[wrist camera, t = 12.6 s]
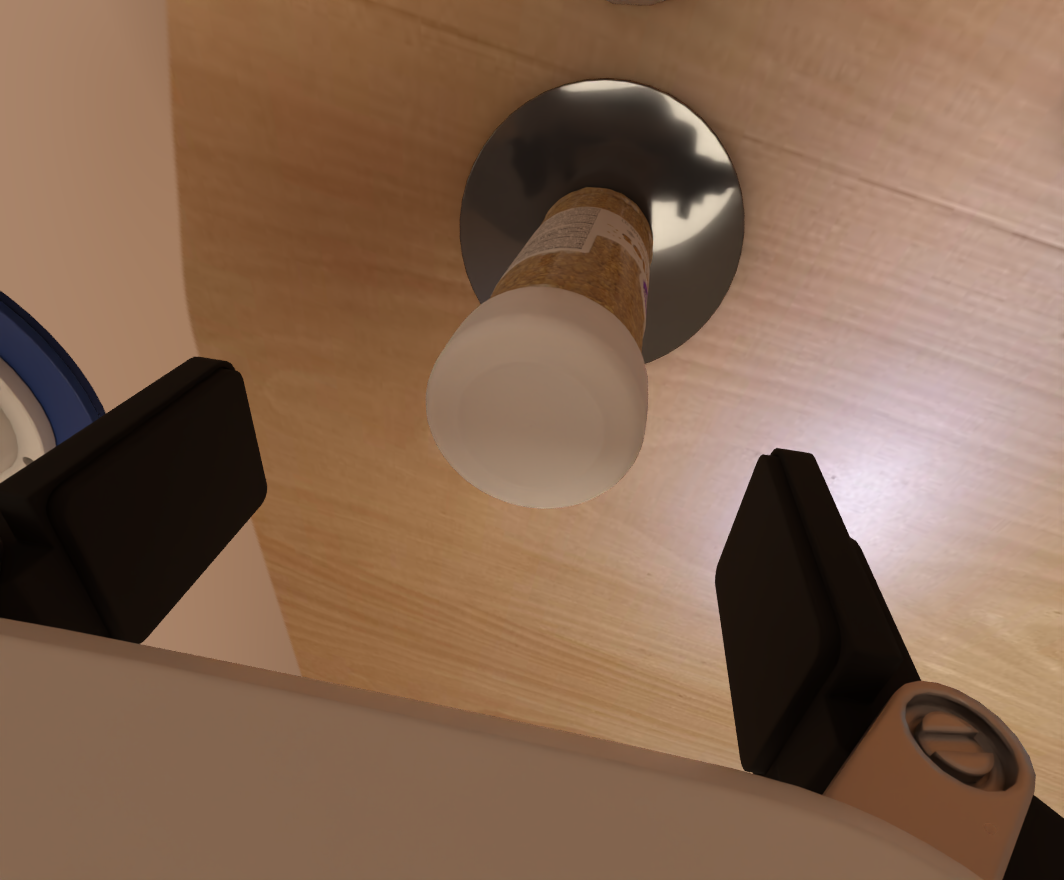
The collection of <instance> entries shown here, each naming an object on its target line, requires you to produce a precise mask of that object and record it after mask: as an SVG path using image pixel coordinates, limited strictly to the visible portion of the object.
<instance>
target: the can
mask: <svg viewBox="0 0 1064 880" xmlns="http://www.w3.org/2000/svg"><path fill="white" fill-rule="evenodd" d="M607 1H609V2H611V3H614V4H635V5H653V4H656V3H659V2H662V1H665V0H607Z"/></svg>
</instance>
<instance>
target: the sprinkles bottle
mask: <svg viewBox="0 0 1064 880" xmlns="http://www.w3.org/2000/svg"><path fill="white" fill-rule="evenodd" d="M652 256H653V238H652V233H651V230H650V227H649V223H648V221H647V219H646V218H645V216H644V214H643V213H642V211H641V210H640V208H639V207H638V206H637V204H636V203H634V202H633V201H632V200H630V199H629V198H628V197H626V196H625V195H623V194H621V193H618V192H615V191H613V190H611V189H606V188H594V187H586V188H583V189H580V190H578V191H574V192H571V193H569V194H567V195H566V196H564V197H562V198H561V199H559V200H558V201H557V202H556V203H555V204H554V205H553V206H552V207H551V208H550V210H549V211H548V212H547V214H546V216H545V219H544V220H543V222H542V224H541V226H540V227H539V228H538V229H537V230H536V231H535V233H534V234H533V235H532V237H531V238H530V239H529V241H528V242H527V243H526V245H525V246H524V248H523V249H522V250H521V252H520V253H519V254H518V256H517V257H516V258H515V260H514V261H513V263H512V264H511V265H510V267H509V268H508V269H507V271H506V272H505V273H504V275H503V276H502V278H501V279H500V281H499V282H498V284H497V285H496V287H495V289H494V291H493V293H492V295H491V297H490V299H489V300H487V301H485V302H483V303H482V304H481V305H480V306H479V307H477V308H476V309H475V310H474V311H473V312H472V313H471V314H470V315H469V316H468V317H467V318H466V319H465V320H464V321H463V322H462V324H461V325H460V326H459V328H458V329H457V330H456V332H455V333H454V334H453V336H452V337H451V339H450V340H449V341H448V343H447V344H446V346H445V348H444V349H443V351H442V352H441V354H440V355H439V357H438V358H437V360H436V362H435V364H434V366H433V369H432V371H431V374H430V377H429V380H428V384H427V391H426V412H427V419H428V423H429V427H430V430H431V433H432V435H433V438H434V440H435V442H436V445H437V446H438V448H439V450H440V451H441V453H442V455H443V456H444V457H445V459H446V460H447V461H448V462H449V464H450V465H451V466H452V467H453V468H454V469H455V470H456V471H457V472H458V473H459V474H460V475H461V476H462V477H463V478H464V479H465V480H466V481H468V482H469V483H470V484H472V485H473V486H475V487H476V488H478V489H479V490H481V491H482V492H484V493H486V494H488V495H490V496H492V497H494V498H497V499H499V500H502V501H505V502H508V503H511V504H515V505H518V506H523V507H530V508H539V509H551V508H562V507H569V506H573V505H578V504H581V503H584V502H587V501H589V500H591V499H593V498H596V497H598V496H600V495H601V494H603V493H605V492H606V491H608V490H610V489H611V488H612V487H613V486H614V485H615V484H617V483H618V482H619V481H620V480H621V479H622V478H623V477H624V475H625V474H626V473H627V472H628V470H629V469H630V468H631V466H632V465H633V463H634V462H635V460H636V458H637V456H638V454H639V452H640V449H641V447H642V443H643V439H644V434H645V428H646V419H647V410H648V376H647V371H646V367H645V363H644V360H643V356H642V340H643V336H644V331H645V326H646V310H647V296H648V288H649V273H650V268H649V267H650V264H651V261H652Z"/></svg>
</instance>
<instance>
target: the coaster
mask: <svg viewBox="0 0 1064 880" xmlns="http://www.w3.org/2000/svg"><path fill="white" fill-rule="evenodd" d="M586 187H594V188H606V189H611V190H613V191H615V192H618V193H621V194H623V195H625V196H626V197H628V198H629V199H630V200H632V201H633V202H634V203H636V204H637V206H638V207H639V208H640V210H641V211H642V213H643V214H644V216H645V218H646V219H647V221H648V223H649V227H650V230H651V233H652V238H653V256H652V261H651V264H650V267H649V268H650V273H649V288H648V296H647V310H646V326H645V331H644V336H643V340H642V356H643V360H644V363H648V362H651V361H653V360H656V359H658V358H660V357H662V356H664V355H666V354H668V353H670V352H671V351H673V350H674V349H676V348H678V347H679V346H681V345H682V344H683V343H685V342H686V341H687V340H688V339H690V338H691V337H692V336H693V335H695V334H696V333H697V332H698V331H699V330H700V329H701V328H702V327H703V326H704V324H705V323H706V322H707V321H708V320H709V319H710V318H711V316H712V315H713V314H714V312H715V311H716V310H717V308H718V307H719V306H720V304H721V302H722V300H723V299H724V297H725V295H726V293H727V292H728V290H729V288H730V285H731V283H732V281H733V278H734V276H735V274H736V271H737V267H738V263H739V260H740V256H741V252H742V245H743V238H744V207H743V199H742V192H741V188H740V185H739V181H738V177H737V174H736V171H735V169H734V167H733V164H732V162H731V160H730V157H729V155H728V153H727V151H726V150H725V148H724V147H723V145H722V143H721V142H720V140H719V138H718V137H717V135H716V134H715V133H714V132H713V130H712V129H711V128H710V127H709V126H708V125H707V123H706V122H705V121H704V120H703V119H702V118H701V117H700V116H699V115H698V114H697V113H695V112H694V111H693V110H692V109H691V108H690V107H689V106H687V105H686V104H685V103H683V102H681V101H680V100H678V99H677V98H675V97H673V96H672V95H670V94H669V93H666V92H664V91H662V90H659V89H657V88H655V87H652V86H650V85H647V84H643V83H639V82H635V81H631V80H624V79H613V78H600V79H586V80H581V81H577V82H572V83H568V84H564V85H561V86H559V87H556V88H554V89H551V90H548V91H546V92H544V93H542V94H540V95H538V96H537V97H535V98H533V99H531V100H529V101H528V102H526V103H525V104H524V105H522V106H521V107H520V108H518V109H517V110H516V111H514V112H513V113H512V114H510V115H509V116H508V117H507V119H506V120H505V121H504V122H503V123H502V124H501V125H500V126H499V127H498V128H497V129H496V130H495V131H494V133H493V134H492V135H491V137H490V138H489V139H488V141H487V142H486V143H485V145H484V146H483V148H482V150H481V152H480V153H479V155H478V157H477V159H476V161H475V162H474V165H473V167H472V170H471V172H470V175H469V177H468V180H467V183H466V187H465V191H464V195H463V199H462V206H461V214H460V242H461V250H462V257H463V261H464V265H465V269H466V273H467V275H468V278H469V280H470V283H471V286H472V288H473V290H474V292H475V294H476V296H477V298H478V300H479V302H480V304H482V303H483V302H485V301H487V300H489V299H490V297H491V295H492V293H493V291H494V289H495V287H496V285H497V284H498V282H499V281H500V279H501V278H502V276H503V275H504V273H505V272H506V271H507V269H508V268H509V267H510V265H511V264H512V263H513V261H514V260H515V258H516V257H517V256H518V254H519V253H520V252H521V250H522V249H523V248H524V246H525V245H526V243H527V242H528V241H529V239H530V238H531V237H532V235H533V234H534V233H535V231H536V230H537V229H538V228H539V227H540V226H541V224H542V222H543V220H544V219H545V216H546V214H547V212H548V211H549V210H550V208H551V207H552V206H553V205H554V204H555V203H556V202H557V201H558V200H559V199H561V198H562V197H564V196H566V195H567V194H569V193H571V192H574V191H578V190H580V189H583V188H586Z"/></svg>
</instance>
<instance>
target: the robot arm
mask: <svg viewBox="0 0 1064 880" xmlns="http://www.w3.org/2000/svg"><path fill="white" fill-rule="evenodd" d="M266 493H267V483H266V478H265V474H264V470H263V465H262V461H261V456H260V452H259V447H258V443H257V439H256V434H255V430H254V425H253V421H252V416H251V412H250V407H249V403H248V399H247V394H246V390H245V385H244V381H243V378H242V375H241V374H240V373H239V372H238V371H235V368H234V367H233V365H232V364H231V363H229V362H227V361H222V360H216V359H210V358H203V357H193V358H191V359H189V360H187V361H186V362H184V363H183V364H181V365H180V366H178V367H177V368H175V369H173V370H172V371H170V372H169V373H167V374H166V375H164V376H163V377H161V378H160V379H158V380H157V381H155V382H154V383H152V384H151V385H149V386H148V387H146V388H145V389H143V390H142V391H140V392H138V393H137V394H135V395H134V396H132V397H131V398H129V399H128V400H126V401H125V402H123V403H122V404H120V405H119V406H117V407H116V408H114V409H112V410H111V411H110V412H108V413H106V414H105V415H103V416H102V417H100V418H99V419H97V420H96V421H94V422H93V423H91V424H90V425H88V426H86V427H85V428H83V429H82V430H80V431H79V432H77V433H76V434H74V435H73V436H71V437H70V438H68V439H67V440H65V441H64V442H62V443H61V444H59V445H57V446H56V443H55V436H54V433H53V430H52V427H51V424H50V421H49V419H48V417H47V416H46V414H45V412H44V410H43V408H42V406H41V404H40V403H39V401H38V400H37V398H36V397H35V396H34V394H33V393H32V391H31V390H30V388H29V387H28V386H27V385H26V383H25V382H24V381H23V380H22V379H21V378H20V376H19V375H18V374H17V373H16V372H15V371H14V370H13V368H11V367H10V366H9V365H8V364H7V363H6V362H5V361H4V360H3V359H2V358H1V357H0V880H1064V818H1063V817H1061V816H1060V815H1059V814H1058V813H1056V812H1055V811H1054V810H1052V809H1051V808H1050V807H1049V806H1047V805H1046V804H1045V803H1043V802H1042V801H1041V800H1040V799H1038V798H1037V797H1036V796H1034V795H1033V794H1034V791H1035V777H1036V775H1035V772H1034V769H1033V766H1032V763H1031V760H1030V757H1029V755H1028V753H1027V752H1026V750H1025V749H1024V747H1023V746H1022V744H1021V742H1020V741H1019V739H1018V738H1017V736H1016V735H1015V734H1014V733H1013V732H1012V731H1011V730H1010V729H1009V728H1008V727H1007V725H1006V724H1005V723H1004V722H1003V721H1002V720H1001V719H1000V718H999V717H998V716H996V715H995V714H994V713H993V712H991V711H990V710H989V709H987V708H986V707H985V706H984V705H982V704H981V703H980V702H978V701H977V700H975V699H973V698H971V697H969V696H968V695H966V694H964V693H962V692H961V691H959V690H956V689H954V688H951V687H948V686H945V685H942V684H939V683H934V682H926V681H921V679H920V677H919V675H918V673H917V670H916V668H915V666H914V664H913V662H912V659H911V657H910V655H909V653H908V651H907V648H906V646H905V644H904V642H903V640H902V637H901V635H900V633H899V631H898V629H897V626H896V624H895V622H894V620H893V618H892V615H891V613H890V611H889V609H888V607H887V604H886V602H885V600H884V598H883V596H882V593H881V591H880V589H879V587H878V585H877V582H876V580H875V578H874V576H873V574H872V571H871V569H870V567H869V565H868V563H867V560H866V558H865V556H864V554H863V552H862V549H861V548H860V546H859V545H858V543H857V542H856V541H855V540H853V539H852V538H850V536H849V534H848V532H847V529H846V527H845V525H844V523H843V520H842V518H841V516H840V514H839V511H838V509H837V507H836V504H835V502H834V500H833V498H832V495H831V493H830V491H829V489H828V486H827V484H826V482H825V480H824V477H823V475H822V473H821V471H820V468H819V466H818V464H817V461H816V459H815V457H814V456H813V454H810V453H805V452H799V451H793V450H786V449H780V448H776V449H774V450H773V452H772V453H771V455H764V454H763V455H761V456H760V457H759V459H758V461H757V464H756V466H755V469H754V471H753V474H752V477H751V479H750V482H749V484H748V487H747V490H746V492H745V495H744V497H743V500H742V502H741V505H740V508H739V510H738V513H737V515H736V518H735V521H734V523H733V526H732V528H731V531H730V534H729V536H728V539H727V541H726V544H725V547H724V549H723V552H722V554H721V557H720V559H719V562H718V565H717V569H716V575H715V586H716V593H717V600H718V607H719V614H720V621H721V628H722V635H723V642H724V649H725V656H726V663H727V670H728V677H729V684H730V691H731V698H732V705H733V712H734V719H735V726H736V733H737V740H738V747H739V754H740V760H741V764H742V767H743V769H744V770H745V771H747V772H752V773H753V774H751V773H747V772H744V771H740V770H737V769H733V768H728V767H724V766H720V765H715V764H711V763H706V762H702V761H698V760H693V759H689V758H684V757H680V756H676V755H671V754H667V753H662V752H658V751H653V750H649V749H645V748H640V747H636V746H631V745H627V744H623V743H618V742H614V741H609V740H604V739H600V738H595V737H590V736H585V735H581V734H576V733H571V732H566V731H561V730H557V729H552V728H547V727H542V726H538V725H533V724H528V723H523V722H518V721H514V720H509V719H504V718H499V717H495V716H490V715H485V714H480V713H476V712H471V711H466V710H461V709H456V708H452V707H447V706H442V705H437V704H433V703H428V702H423V701H418V700H413V699H408V698H403V697H398V696H394V695H389V694H384V693H379V692H374V691H369V690H364V689H359V688H355V687H350V686H345V685H340V684H335V683H330V682H325V681H320V680H315V679H310V678H306V677H301V676H296V675H291V674H286V673H281V672H276V671H271V670H266V669H261V668H256V667H251V666H246V665H241V664H237V663H232V662H227V661H221V660H216V659H212V658H206V657H201V656H196V655H191V654H186V653H181V652H176V651H171V650H165V649H161V648H156V647H151V646H146V645H141V644H140V643H142V642H143V641H144V640H145V639H146V638H147V637H148V636H149V635H150V634H151V633H152V631H153V630H154V629H155V628H156V627H157V626H158V624H159V623H160V622H161V621H162V620H163V619H164V617H165V616H166V615H167V614H168V613H169V612H170V611H171V609H172V608H173V607H174V606H175V605H176V604H177V602H178V601H179V600H180V599H181V598H182V597H183V595H184V594H185V593H186V592H187V591H188V590H189V588H190V587H191V586H192V585H193V584H194V583H195V581H196V580H197V579H198V578H199V577H200V575H201V574H202V573H203V572H204V571H205V570H206V569H207V567H208V566H209V565H210V564H211V563H212V562H213V560H214V559H215V558H216V557H217V556H218V555H219V554H220V552H221V551H222V550H223V549H224V548H225V547H226V545H227V544H228V543H229V542H230V541H231V539H232V538H233V537H234V536H235V535H236V534H237V533H238V531H239V530H240V529H241V528H242V527H243V526H244V524H245V523H246V522H247V521H248V520H249V519H250V517H251V516H252V515H253V514H254V513H255V512H256V510H257V509H258V508H259V507H260V506H261V505H262V503H263V502H264V499H265V497H266Z"/></svg>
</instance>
